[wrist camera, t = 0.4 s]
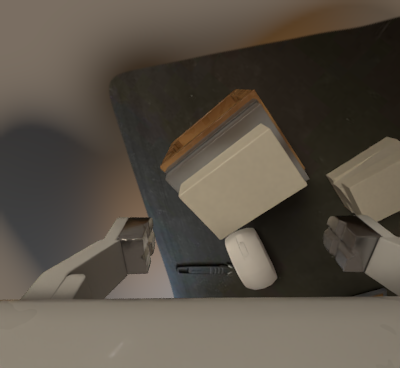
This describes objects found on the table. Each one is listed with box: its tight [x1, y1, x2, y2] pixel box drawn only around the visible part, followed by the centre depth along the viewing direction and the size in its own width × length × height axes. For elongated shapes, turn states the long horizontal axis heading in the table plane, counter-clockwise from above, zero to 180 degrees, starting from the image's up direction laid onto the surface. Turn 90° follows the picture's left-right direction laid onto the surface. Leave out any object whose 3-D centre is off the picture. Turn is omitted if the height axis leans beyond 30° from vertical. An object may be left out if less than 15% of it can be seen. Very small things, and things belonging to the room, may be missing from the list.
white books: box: [326, 137, 400, 222], centre depth 32 cm, size 9×10×6 cm
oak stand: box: [160, 89, 309, 193], centre depth 26 cm, size 10×12×14 cm
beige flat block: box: [179, 124, 307, 240], centre depth 19 cm, size 6×9×2 cm, turn 129°
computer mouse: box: [225, 228, 277, 290], centre depth 39 cm, size 6×13×6 cm, turn 27°
